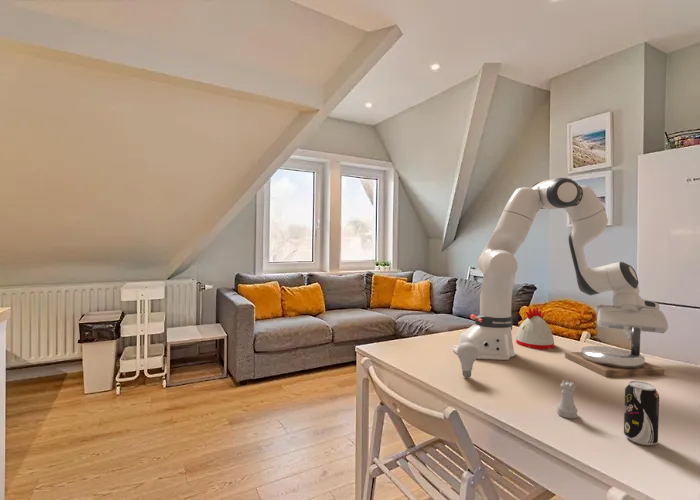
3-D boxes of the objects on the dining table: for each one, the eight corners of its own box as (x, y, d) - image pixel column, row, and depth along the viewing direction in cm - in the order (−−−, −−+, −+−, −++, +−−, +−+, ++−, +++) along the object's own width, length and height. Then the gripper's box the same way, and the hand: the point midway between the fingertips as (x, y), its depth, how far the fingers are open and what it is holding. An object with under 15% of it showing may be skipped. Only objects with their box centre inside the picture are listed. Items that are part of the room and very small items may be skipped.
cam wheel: (599, 367, 118) (600, 332, 118) (571, 350, 136) (572, 320, 135) (662, 369, 116) (663, 334, 116) (626, 352, 134) (627, 322, 134)
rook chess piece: (552, 411, 92) (553, 379, 92) (569, 410, 92) (570, 378, 92) (564, 419, 88) (565, 386, 87) (582, 419, 88) (583, 385, 88)
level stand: (605, 376, 116) (605, 369, 116) (565, 357, 135) (565, 351, 135) (664, 375, 117) (664, 368, 117) (616, 356, 136) (616, 350, 136)
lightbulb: (477, 375, 116) (477, 340, 115) (477, 382, 110) (477, 346, 110) (456, 373, 118) (457, 338, 117) (455, 380, 112) (456, 344, 112)
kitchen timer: (509, 340, 157) (509, 305, 157) (536, 339, 160) (537, 304, 160) (532, 350, 144) (533, 311, 143) (562, 348, 147) (563, 310, 146)
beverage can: (616, 433, 81) (618, 379, 81) (641, 433, 82) (643, 379, 81) (638, 448, 76) (640, 390, 75) (665, 447, 76) (667, 389, 76)
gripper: (595, 299, 140) (599, 331, 131) (664, 304, 131) (673, 338, 122) (593, 309, 144) (597, 340, 135) (660, 314, 135) (668, 347, 126)
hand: (634, 339), depth 129 cm, fingers closed
